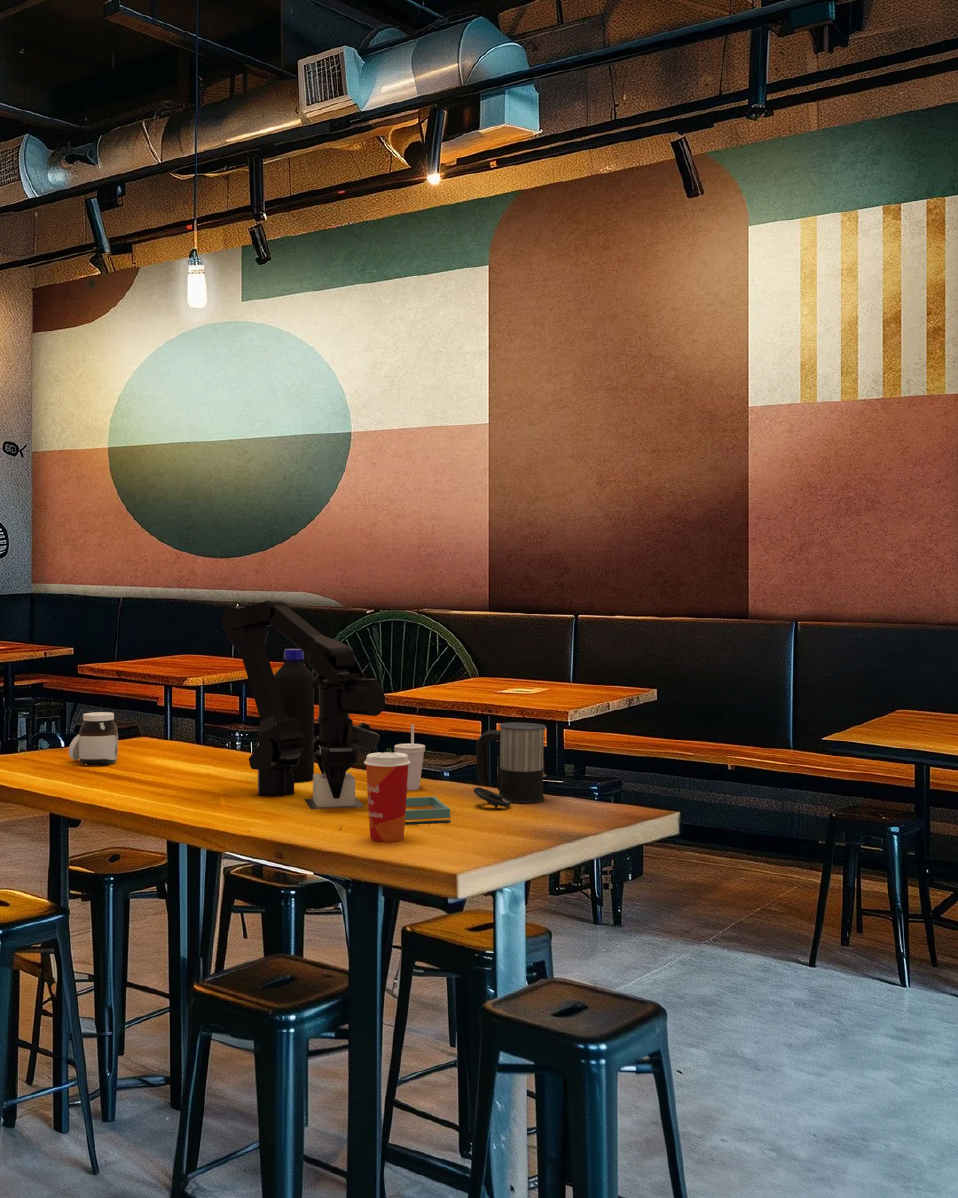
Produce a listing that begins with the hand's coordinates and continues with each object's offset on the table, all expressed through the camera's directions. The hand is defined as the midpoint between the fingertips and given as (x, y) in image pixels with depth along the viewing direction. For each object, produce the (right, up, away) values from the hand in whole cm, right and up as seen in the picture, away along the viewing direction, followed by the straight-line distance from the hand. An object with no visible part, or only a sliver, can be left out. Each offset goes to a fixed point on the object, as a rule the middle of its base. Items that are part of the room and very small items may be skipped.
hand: (333, 795), depth 225 cm
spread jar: (-63, -2, +53) cm, 82 cm away
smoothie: (+13, -3, +16) cm, 21 cm away
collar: (0, -2, 0) cm, 2 cm away
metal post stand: (0, -3, 0) cm, 2 cm away
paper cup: (+12, -3, -26) cm, 29 cm away
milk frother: (+33, -3, +7) cm, 34 cm away
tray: (+15, -3, -8) cm, 17 cm away
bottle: (-13, -2, +32) cm, 34 cm away
